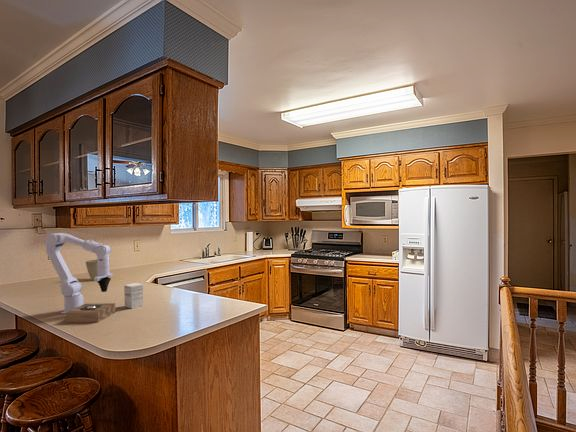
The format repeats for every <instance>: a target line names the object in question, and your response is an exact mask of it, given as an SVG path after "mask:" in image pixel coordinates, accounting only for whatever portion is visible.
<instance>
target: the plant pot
mask: <svg viewBox="0 0 576 432" xmlns="http://www.w3.org/2000/svg"><path fill="white" fill-rule="evenodd" d="M85 266H86V270H87V273H88V275H89V278H90V280H91V281H92V282H95V281H94V278H95V277H96V276H97V275H98V262H97V258H96V259H89V260H86V261H85Z"/></svg>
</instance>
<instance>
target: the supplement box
mask: <svg viewBox="0 0 576 432" xmlns="http://www.w3.org/2000/svg"><path fill="white" fill-rule="evenodd" d="M143 306H144V284H143V283H137V282H134V283H128V284H124V307H125V308H129V309H131V310H133V309H136V308H141V307H143Z"/></svg>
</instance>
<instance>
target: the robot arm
mask: <svg viewBox="0 0 576 432" xmlns="http://www.w3.org/2000/svg"><path fill="white" fill-rule="evenodd" d="M44 243H45V245H46V246H45V252H46V255H47V257H48V259H49V260H50V262H51V264H52V266H53V267H54V270H55V272H56V273H57V274H56V275H57V276H58V277H59V279H60V281H61V282H60V284H59V287H60V292H61V294H62V296H63V297H64V299H63V302H64V303H63V304H64V307H63V309H64V310H63V311H61V312H60V314H63V315H64V314H66V312H68V311H70V310H73V309H75V308H77V307H79V306H81V305H84V304H85V302H84V301H85V298H84V295H83V294H82V293H81V291H82V290H83V284H82V283H81V282H80V281H79V280H78V279H77V277H75V276H73V275H72V273H71V271H70V269H69V267H68V264H67V263H66V261H65V259H64V258H63V256H62V254H61V252H60V251H61V249H62V247H63V246H64V245H65V244H66V243H68V244H72V245H75V246H79V247H82V248H83V251H84V250H85V251H87V252H90V253H93V254H95V255H96V259H97V262H98V275H97V276H96V277H95V278H94V281H93V282H97V283H98V285H99V288H100V290H101V291H100V292H101V293H105V292H106V293H107V291H108V287H109V284H110V281H111V279H112V278H111V277H113V272H111V270H110V254H111V251H112V248H111V246H110V245H108V244H103V243H101V242H96V241H94V240H93V239H87V240H84V239H81V238H80V237H79V238H78V237H76V236H74V235H73V234H69V233H66V232H57V233H56V232H55V233H53V232H52V233H48V234H47V236H45V239H44Z"/></svg>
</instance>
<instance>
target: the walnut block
mask: <svg viewBox="0 0 576 432" xmlns="http://www.w3.org/2000/svg"><path fill="white" fill-rule="evenodd" d="M88 306H96V307H94V308H87V307H88ZM115 313H116V303H115V302H106V303H105V302H104V303H103V302H102V303H84V305H81V306H79V307H77V308H75V309H73V310H70V311H68V312H66V313H65V323H66V324H67V323H69V324H71V323H72V324H73V323H75V324H76V323H77V324H78V323H81V324H82V323H100V322H101V321H104V320H105V319H107V318H108V317H111V316H112V315H114V314H115Z"/></svg>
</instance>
